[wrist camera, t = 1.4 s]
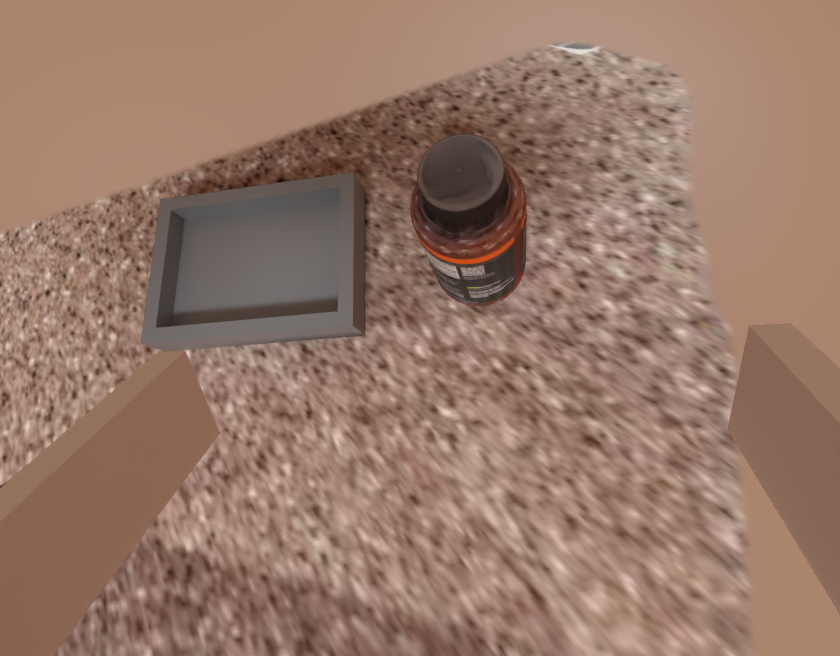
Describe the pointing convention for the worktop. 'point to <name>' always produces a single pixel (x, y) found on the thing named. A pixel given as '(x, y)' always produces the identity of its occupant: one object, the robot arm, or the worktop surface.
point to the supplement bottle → (471, 219)
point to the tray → (258, 265)
